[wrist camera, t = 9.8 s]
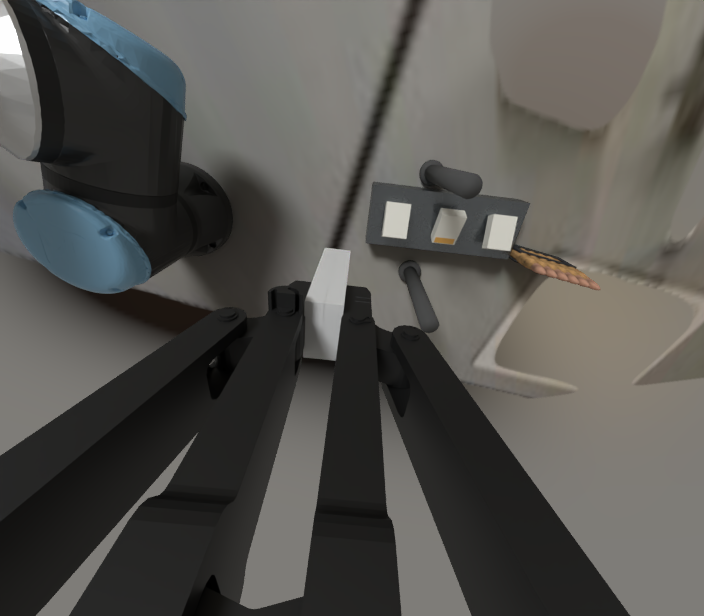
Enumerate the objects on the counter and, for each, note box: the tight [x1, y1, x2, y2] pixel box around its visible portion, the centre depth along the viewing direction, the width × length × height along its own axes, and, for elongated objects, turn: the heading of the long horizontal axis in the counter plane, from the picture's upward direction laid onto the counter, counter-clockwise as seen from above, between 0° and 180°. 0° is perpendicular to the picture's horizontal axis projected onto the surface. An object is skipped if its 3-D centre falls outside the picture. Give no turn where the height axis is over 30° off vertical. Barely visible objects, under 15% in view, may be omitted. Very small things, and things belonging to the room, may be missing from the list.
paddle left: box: [381, 201, 411, 239], centre depth 43 cm, size 4×5×2 cm
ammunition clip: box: [509, 244, 600, 290], centre depth 46 cm, size 11×2×12 cm, turn 75°
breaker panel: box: [366, 182, 530, 259], centre depth 47 cm, size 24×9×4 cm, turn 84°
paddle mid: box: [431, 208, 467, 245], centre depth 43 cm, size 4×5×2 cm
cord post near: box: [420, 160, 482, 199], centre depth 37 cm, size 4×4×19 cm
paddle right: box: [482, 214, 518, 251], centre depth 43 cm, size 4×5×2 cm
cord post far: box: [399, 261, 439, 333], centre depth 45 cm, size 4×4×19 cm
